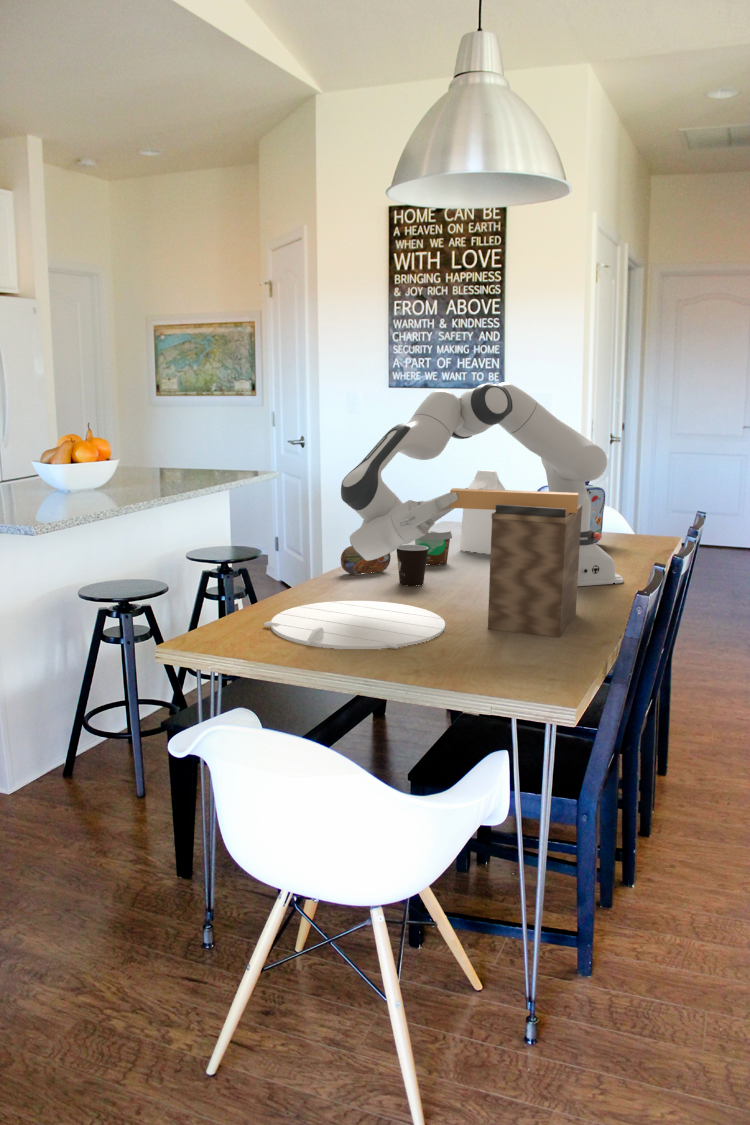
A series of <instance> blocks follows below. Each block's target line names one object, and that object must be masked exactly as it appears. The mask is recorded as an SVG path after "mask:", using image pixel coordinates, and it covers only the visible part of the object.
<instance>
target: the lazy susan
mask: <svg viewBox="0 0 750 1125" xmlns="http://www.w3.org/2000/svg"><path fill="white" fill-rule="evenodd" d="M263 626H265V627H268V628H270V629H271V630H272V632H273V633H274V634H275V635H277V636H278V637H280V638H282V639H284V640H287V641H289V642H292V643H297V644H299V645H305V646H310V647H314V646H315V647H316V648H321V647H323V649H330V648H334V649H333V650H343V649H378V650H382V649H381V648H391V649H396V650H397V649H398V647H400V646H406V647H408V646H407V645H412V644H416V645H418V644H417V643H420V642H424V641H427V640H430V639H432V638H435V637H437V636H438V637H440V636H441V635H442V634H443V633H444V632H445V631H446V621H445V620H444V618H443V617H441V616H440V615H439V614H436V613H435V612H433V611H430V610H428V609H424V608H421V607H417V606H414V605H408V604H402V603H396V602H389V601H388V602H387V601H375V600H341V601H340V600H339V601H338V600H337V601H335V600H334V601H325V602H315V603H314V602H313V603H310V604H309V603H308V604H303V605H299V606H294V607H292V608H291V607H290V608H289V609H285V610H283V611H281V612H279V613H277V614H276V615H274V616H273V617H272V618H271V620H270V621H269V620H268V621H267V622H266V621H265V622H264V623H263ZM443 631H444V632H443ZM442 632H443V633H442ZM441 633H442V634H441ZM440 634H441V635H440ZM439 635H440V636H439ZM438 637H437V638H438ZM435 639H436V638H435ZM430 641H431V640H430ZM427 642H428V641H427ZM424 643H425V642H424ZM420 644H421V643H420ZM412 646H413V645H412ZM400 648H401V647H400Z"/></svg>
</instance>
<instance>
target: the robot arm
mask: <svg viewBox="0 0 750 1125" xmlns="http://www.w3.org/2000/svg"><path fill="white" fill-rule="evenodd" d="M494 425H499V426H500V427H501V428H502V429H503V430H504V431H506V432H507V433H508V434H509V435H511V436H512V438H514V439H515V440H516V441H517V442H519V443H520V444H521V445H523V446H524V447H525V448H526V449H527V450H528V451H530V452H532V453H534V454H535V455H537V456H538V457H540V460H541V464H542V466H543V467H544V470H545V473H546V481H547V485H548V488H549V492H567V493H578V505H581V506H582V516H581V533H580V550H579V567H578V584H577V587H584V586H585V587H587V586H588V587H589V586H599V585H612V584H613V583H615V584H622V583H624V579H623V577H622V575H620V574H618V573H616V567H615V562H614V559H613V557H612V556H610V554H608V553H607V552H606V551H604V550H603V549H602V548H601V547H600V546H599V545H597V543H595V539H596V540H598V542H599V541H601V540H602V539H603V535H602V534H601V535H600V533H598V532H596V533H594V532H593V531H591V530H589V529H590V513H591V501H590V498H589V497H588V494H587V491H586V486H585V482H587V481H591V482H592V481H595V480H597V479H599V478H600V477H601V476H602V475H604V472H605V471H606V469H607V464H608V459H607V455H606V452H605V451H604V450H603V449H602V448H601V447H600V446H598V445H597V444H595V443H594V442H593V441H591V440H589V439H588V438H586V437H585V436H584V435H582V433H580V432H578V431H577V430H575V429H573V428H572V427H571V426H569V425H568V424H566V423H565V422H563V421H561V420H560V419H558V418H557V417H556V416H555V415H554V414H553V413H551V412H550V411H549V410H548V409H546V408H545V407H544V406H542V405H541V403H539V402H538V401H537V400H536V399H534V398H533V397H532V396H531V395H529V394H528V393H527V392H525V391H524V390H523V389H521V388H519V387H517V386H515V385H513V384H512V383H510V382H506V381H505V382H500V383H498V384H496V383H489V382H488V383H483V384H482V383H481V384H480V385H478V386H476V387H474V388H471V389H470V390H467V391H465V392H464V393H462V394H461V395H460V396H458V397H457V396H456V395H455V394H454V393H452V392H451V391H448V390H444V389H437V390H434V391H432V392H430V394H428V396H426V398H425V399H424V400H423V401H422V402H421V403H420V405H419V406H418V408H417V409H416V410H415V412H414V413H413V415H412V416H411V418H410V420H408V422H407V423H397V424H396V425H395V426H393V427H392V428H390V429H389V430H388V431H387V432H386V433H385V435H383V436H382V438H381V439H380V440H379V441H378V442H377V443H376V444H375V446H374V447H373V448H372V449H371V450H370V452H368V453H367V455H366V456H365V457H364V458H363V459H362V460H361V461H360V463H359V464H357V466H355V467H354V468H353V469H352V470H351V471H350V472H349V473H347V474H346V476H344V478H343V480H342V481H341V487H340V497H341V501H343V502H344V503H345V504H346V505H347V506H349V507H350V508H351V509H352V510H354V511H355V512H356V513H357V514H358V515H359V516H360V517H361V518H362V519H363V521H362V524H361V525H360V527H359V528H357V529H356V530H354V531H353V532H352V533H351V534H350V535H349V542H350V546H352V547H353V549H354V550H355V552H356V553H357V554H358V555H359V556H360V557H361V558H362V559H364V560H366V561H370V560H374V559H377V558H380V557H382V556H385V555H387V554H389V553H390V554H391V553H392V552H394V551H397V548H398V547H399V546H401V545H408V544H409V543H410V544H411V543H413V542H415V540H416V539H418V538H420V537H422V536H424V535H426V534H427V533H428V532H429V530H430V529H431V527H433V526H434V525H435V523H436V522H437V521H438V520H440V519H441V518H443V517H444V516H446V515H448V514H449V513H450V512H452V511H453V510H455V509H456V508H450V504H451V503H453V502H455V501H457V500H458V499H459V496H458V494H457V493H456V492H455V493H452V494H450V492H447V493H445V494H442V495H439V496H437V497H434V498H432V499H429V500H425V501H424V500H421V501H415V500H412V499H410V500H407V501H405V502H403V501H402V500H401V499H400V498H399V497H398V496H397V495H396V493H394V492H393V491H392V489H390V488H389V486H388V485H387V484H386V483H385V482H384V481H383V478H382V471H383V470H384V469H385V468H386V467H387V466H388V465H389V463H390V462H391V461H392V459H393V458H394V457H395V456H396V455H397V454H398V453H400V454H403V455H404V456H407V457H409V458H411V459H413V460H418V461H419V460H420V461H428V460H432V459H435V458H437V457H438V456H440V455H441V454H442V452H443V451H444V450H445V448H446V447H447V444H449V441H450V439H451V438H454V439H458V440H463V439H469V438H472V437H474V436H476V435H480V434H482V433H484V432H485V431H488V430H489V429H490V428H491V427H493V426H494ZM464 489H468V487H466V488H464Z"/></svg>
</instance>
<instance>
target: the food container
mask: <svg viewBox="0 0 750 1125" xmlns="http://www.w3.org/2000/svg"><path fill="white" fill-rule="evenodd" d="M451 539H453V535H452V531H450V530H449V531H446V532H436V531H428V533H427V534H426V535H424V536H422V537H420V538H418V539H416V540H414V543H415V544H414V545H421V546H426V547H428V554H427V561H426V564H430V565H429V566H440V565H439V564H444V565H446V564H445V563H447V564H448V558H449V557H448V556H449V549H450V542H451Z"/></svg>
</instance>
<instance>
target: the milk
mask: <svg viewBox="0 0 750 1125" xmlns="http://www.w3.org/2000/svg"><path fill="white" fill-rule="evenodd" d="M467 488H468V489H487V490H506V488H505V487H504V485H503V483H502V481H501V480H500V478H499V475H498V472H497V471H496V470H485V469H484V470H483V469H478V470H477V472H476V474H475V476H474V478H473V480H472V481H471V483H470V485H469V486H468V487H467ZM494 512H496V510H488V509H464V508H462V519H461V528H460V529H461V531H460V539H459V540H460V542H459V551H460V550H463V551H462V552H465V551H470V552H469V553H473V552H477V553H476V554H482V553H486V554H485V555H490V554H491V531H492V518H491V517H492V513H494Z"/></svg>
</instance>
